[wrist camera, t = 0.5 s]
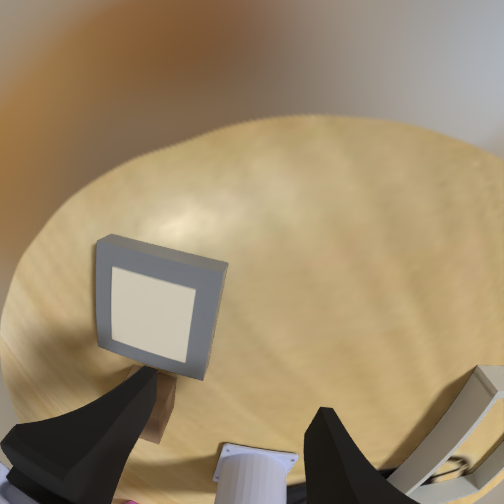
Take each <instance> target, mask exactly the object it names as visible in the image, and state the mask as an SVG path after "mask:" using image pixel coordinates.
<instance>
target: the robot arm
mask: <svg viewBox="0 0 504 504" xmlns="http://www.w3.org/2000/svg"><path fill="white" fill-rule="evenodd" d="M157 376H158V370H157V369H154V368H151V367H148V366H143V367H141V368H140V369H139V370H138V371H137V372H136V373H134V374H133V375H132V376H131V377H129V378H128V379H127V380H125V381H124V382H123V383H121V384H120V385H118V386H117V387H116V388H114V389H113V390H111V391H110V392H108V393H107V394H105V395H103V396H102V397H100V398H98V399H97V400H95V401H93V402H91V403H89V404H87V405H85V406H83V407H81V408H79V409H77V410H74V411H72V412H69V413H66V414H64V415H61V416H57V417H54V418H50V419H46V420H42V421H38V422H31V423H24V424H16V425H15V426H14V427H13V428H12V429H11V430H10V431H9V433H8V434H7V435H6V436H5V438H4V439H3V440H2V441H1V443H0V445H1V449H2V450H3V452H4V454H5V455H6V456H7V458H8V459H9V461H10V462H11V464H12V465H13V467H12V469H11V470H9V468H8V467H6V466H5V465H4V464H3V463H2V462H0V504H111V502H112V499H113V496H114V493H115V490H116V487H117V484H118V482H119V479H120V476H121V473H122V471H123V468H124V466H125V463H126V461H127V459H128V457H129V454H130V452H131V451H132V449H133V447H134V445H135V443H136V442H137V440H138V438H139V436H140V434H141V433H142V431H143V429H144V427H145V425H146V423H147V422H148V420H149V418H150V415H151V413H152V410H153V407H154V405H155V402H156V393H157ZM298 458H299V455H298V454H295V453H286V452H278V451H270V450H263V449H257V448H251V447H245V446H240V445H235V444H230V443H225V444H224V445H223V448H222V451H221V454H220V458H219V461H218V464H217V467H216V470H215V473H214V476H213V481H214V482H218V486H217V491H216V497H215V502H214V504H286V476H287V474H288V473H289V471H290V470H291V468H292V467H293V466H294V464H295V463H296V461H297V460H298ZM304 464H305V475H306V487H307V504H420V503H419V502H417V501H415V500H413V499H411V498H410V497H408V496H407V495H405V494H404V493H402V492H401V491H400V490H398V489H397V488H396V487H394V486H393V485H392V484H391V483H390V482H388V481H387V480H386V479H385V478H384V477H383V476H382V475H381V474H380V473H379V472H378V471H377V470H376V469H375V468H374V467H373V466H372V465H371V464H370V462H369V461H368V460H367V459H366V458H365V456H364V455H363V454H362V452H361V451H360V450H359V448H358V447H357V446H356V444H355V443H354V441H353V440H352V438H351V437H350V435H349V434H348V432H347V431H346V429H345V427H344V426H343V424H342V422H341V421H340V419H339V417H338V416H337V414H336V412H335V411H334V409H333V408H327V407H320V408H319V410H318V412H317V413H316V415H315V417H314V419H313V420H312V422H311V424H310V425H309V427H308V429H307V430H306V432H305V434H304Z"/></svg>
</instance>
